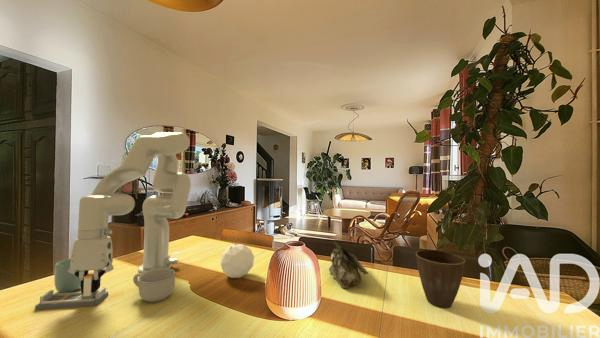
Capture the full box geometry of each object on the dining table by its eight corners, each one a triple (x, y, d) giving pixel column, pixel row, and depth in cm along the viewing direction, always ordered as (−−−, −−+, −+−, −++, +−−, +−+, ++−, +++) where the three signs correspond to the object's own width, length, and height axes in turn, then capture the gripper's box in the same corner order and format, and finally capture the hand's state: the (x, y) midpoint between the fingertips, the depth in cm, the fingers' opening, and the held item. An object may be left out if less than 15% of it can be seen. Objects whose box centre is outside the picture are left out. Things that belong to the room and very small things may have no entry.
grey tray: (108, 295, 86) (108, 285, 86) (96, 305, 79) (96, 295, 79) (52, 298, 82) (53, 288, 82) (34, 309, 75) (35, 299, 76)
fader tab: (99, 292, 84) (100, 271, 84) (92, 298, 80) (93, 276, 80) (88, 293, 83) (89, 272, 83) (81, 299, 79) (82, 276, 79)
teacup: (181, 293, 88) (182, 270, 88) (154, 309, 78) (155, 283, 78) (151, 286, 93) (152, 264, 93) (122, 300, 82) (123, 275, 83)
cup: (65, 297, 83) (67, 266, 84) (47, 294, 85) (49, 264, 85) (89, 287, 91) (91, 259, 91) (72, 284, 92) (73, 257, 93)
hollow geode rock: (338, 274, 122) (317, 250, 123) (358, 256, 122) (337, 232, 123) (346, 302, 93) (319, 270, 95) (372, 279, 93) (344, 247, 95)
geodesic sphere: (235, 274, 92) (249, 238, 100) (206, 267, 97) (221, 234, 105) (252, 285, 103) (263, 252, 111) (224, 279, 108) (237, 248, 116)
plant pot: (446, 319, 77) (447, 266, 77) (405, 297, 90) (406, 252, 91) (474, 308, 84) (474, 260, 84) (432, 289, 97) (433, 248, 98)
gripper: (126, 230, 87) (123, 284, 87) (72, 231, 84) (69, 287, 83) (114, 236, 80) (112, 295, 79) (55, 237, 76) (52, 298, 76)
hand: (90, 290), depth 81 cm, fingers closed on fader tab, 2 cm apart
